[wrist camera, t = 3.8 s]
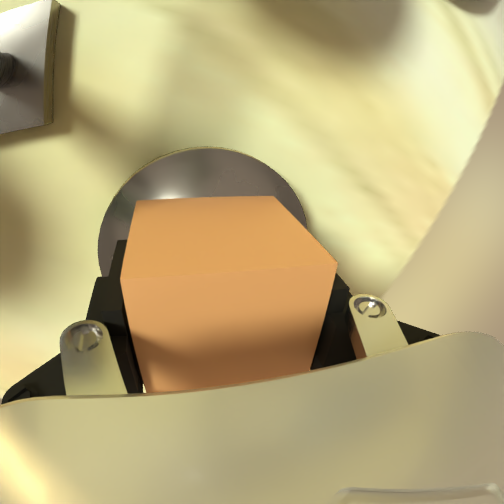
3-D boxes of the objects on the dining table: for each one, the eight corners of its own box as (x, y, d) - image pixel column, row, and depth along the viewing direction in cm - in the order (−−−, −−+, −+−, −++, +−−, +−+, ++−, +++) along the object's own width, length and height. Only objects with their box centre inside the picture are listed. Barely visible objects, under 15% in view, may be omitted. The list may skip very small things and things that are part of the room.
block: (136, 200, 10) (120, 279, 6) (273, 195, 12) (338, 263, 7) (149, 313, 13) (152, 411, 8) (262, 303, 14) (303, 390, 10)
